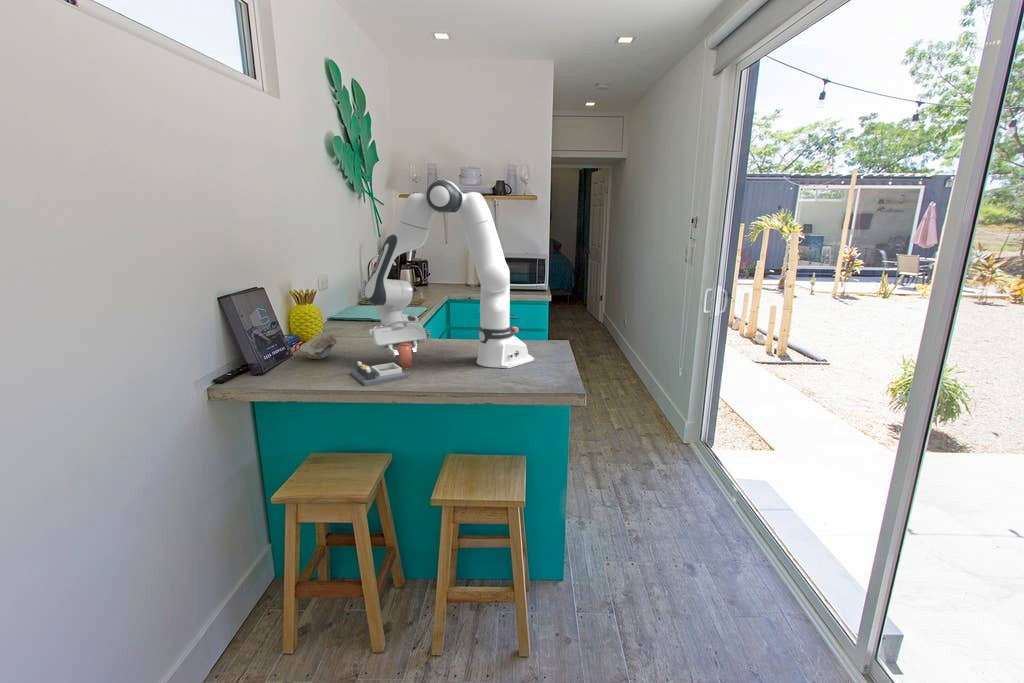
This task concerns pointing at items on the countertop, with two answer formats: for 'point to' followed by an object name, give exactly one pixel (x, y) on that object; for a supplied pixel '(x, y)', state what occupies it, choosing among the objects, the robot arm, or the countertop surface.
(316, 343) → the stone
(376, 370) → the panel
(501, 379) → the countertop surface
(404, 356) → the cap
